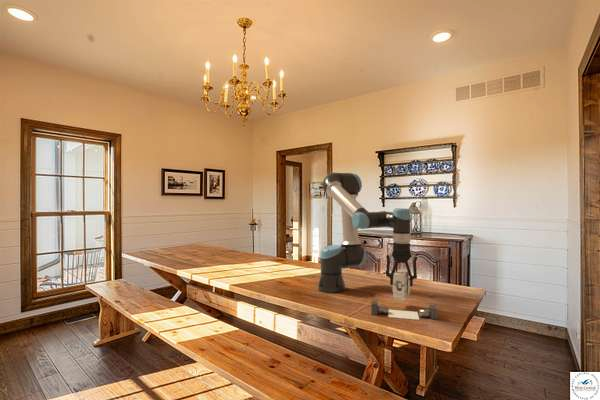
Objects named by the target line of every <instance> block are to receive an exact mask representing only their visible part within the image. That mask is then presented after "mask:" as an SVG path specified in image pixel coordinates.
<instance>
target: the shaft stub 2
mask: <svg viewBox="0 0 600 400" xmlns="http://www.w3.org/2000/svg"><path fill="white" fill-rule="evenodd" d="M428 306H429V308H428V309H423V308H419V309H418V310H419V311H418V312H419V313H418V316H419V318H420V317H421V318H430V320H431V321H432V320H434V321H438V308H437V305H435V304H429V305H428Z"/></svg>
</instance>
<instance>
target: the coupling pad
mask: <svg viewBox="0 0 600 400" xmlns="http://www.w3.org/2000/svg"><path fill="white" fill-rule="evenodd" d="M418 312H419V311H413V310H412V311H411V310H397V309H388V318H389V319H390V318H391V319H402V320H413V321H420V315H419V313H418Z"/></svg>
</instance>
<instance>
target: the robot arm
mask: <svg viewBox="0 0 600 400" xmlns="http://www.w3.org/2000/svg"><path fill="white" fill-rule="evenodd" d="M362 183H363V182H362V179H361V178H360V176H359V175H358V174H357V173H352V172H330V173H329V174H327V175H326V176H325V177H324V178H323V180H322V189H323V191H324V192H325V194H326V195H327V196H328V197H329V198H330V197H331V198H333V199H334V201H336V203H337V204H338V205H339V206H340V208H341V209H340V210H341V222H342V224H341V225H342V241H341V243H340V245H339V244H334V245H332V244H331V245H326V246H323V247H322V248H321V249H320V255H319V256H320V277H319V280H318V282H317V290H318V291H320V292H324V293H333V294H334V293H341V292H344V291H346V283H345V280H344V277H343V269H352V268H357V267H361V266H363V265H364V264H365V263H366V260H367V255H368V254H367V251H366V249H365V247H364V246H363V245H362V242H361V240H359V229H361V230H366V229H379V228H382V229H383V228H389V229H392V241H393V243H392V252H391V254H390V253H389V254H386V256H385V257H386V271H385V272H386V273H385V276H386V277H388V278H389V279H390V280H389V281H390V282H389V284H390V286H392V293H393V294H394V273H395V272H396V270H397V267H398V265H399V264H401V263H402V264H405V267H406V271H408V274H409V278H408V295H411V287H413V283H414V282H413V281H414V280H415V279H418V271H417V260H418V256H416V255H413V254H412V253H411V220H412V217H411V216H412V215H411V209H409V208H401V207H399V208H394V209H393V210H392V211H385V210H381V211H368V210H367V209H366V208H365V207H364V206H363V205H362V204H361V203H360V202H358V200H357V198H358V196H359V193H360V192H361V190H362V187H363V185H362ZM392 258H393V259H394V264H393V266H392V269H391V272H390V266H391V260H392ZM410 259H411V260H412V266H413V267H412V268H413V275H412V271H411V269H410V268H411V267H410V265H409V260H410Z"/></svg>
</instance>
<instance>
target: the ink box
mask: <svg viewBox="0 0 600 400" xmlns="http://www.w3.org/2000/svg"><path fill="white" fill-rule="evenodd" d="M393 277H394V293H393V299H394V300H398V301H405V300H406V299H407V298H408V297H409V294H408V278H410V277H409V274H408V271H407V269H406V270H404V269H398V270H397V271H395V273H394V276H393Z"/></svg>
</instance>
